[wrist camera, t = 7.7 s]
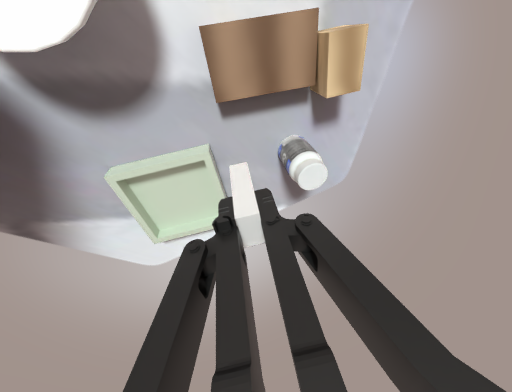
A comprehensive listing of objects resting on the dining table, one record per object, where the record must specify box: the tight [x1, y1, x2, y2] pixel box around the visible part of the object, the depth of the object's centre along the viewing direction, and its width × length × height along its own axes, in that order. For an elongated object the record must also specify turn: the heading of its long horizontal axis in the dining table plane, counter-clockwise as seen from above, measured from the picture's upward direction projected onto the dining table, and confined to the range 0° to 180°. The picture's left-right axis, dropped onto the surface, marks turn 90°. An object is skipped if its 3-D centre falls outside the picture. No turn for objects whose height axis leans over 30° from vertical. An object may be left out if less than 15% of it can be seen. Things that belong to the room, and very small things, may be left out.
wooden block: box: [310, 24, 369, 98], centre depth 24 cm, size 4×6×5 cm, turn 10°
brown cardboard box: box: [199, 8, 319, 103], centre depth 24 cm, size 12×7×3 cm, turn 98°
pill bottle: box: [278, 135, 328, 190], centre depth 29 cm, size 5×5×8 cm
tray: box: [104, 144, 227, 244], centre depth 33 cm, size 14×14×3 cm
